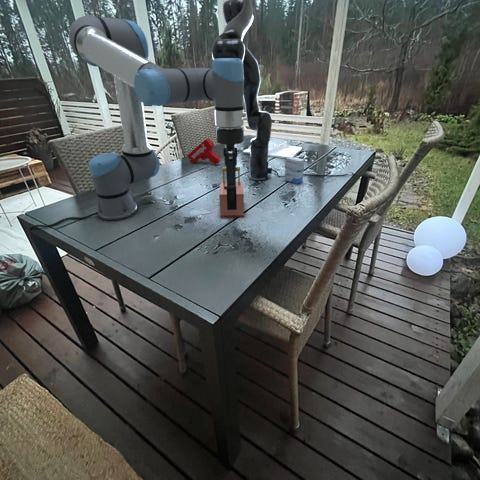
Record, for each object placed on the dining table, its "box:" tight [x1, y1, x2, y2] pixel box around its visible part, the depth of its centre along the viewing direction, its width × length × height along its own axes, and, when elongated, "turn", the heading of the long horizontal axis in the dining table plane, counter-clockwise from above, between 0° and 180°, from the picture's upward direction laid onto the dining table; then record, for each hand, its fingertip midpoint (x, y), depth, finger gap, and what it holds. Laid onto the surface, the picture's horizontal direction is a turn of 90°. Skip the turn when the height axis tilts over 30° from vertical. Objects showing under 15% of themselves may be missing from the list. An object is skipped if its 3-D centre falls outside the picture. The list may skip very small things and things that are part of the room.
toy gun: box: [186, 137, 221, 166], centre depth 168 cm, size 18×4×15 cm
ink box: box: [284, 156, 306, 185], centre depth 140 cm, size 8×5×12 cm, turn 47°
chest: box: [219, 195, 245, 218], centre depth 113 cm, size 13×10×9 cm
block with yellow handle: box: [218, 166, 245, 197], centre depth 108 cm, size 13×10×8 cm
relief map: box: [242, 138, 304, 160], centre depth 192 cm, size 27×35×5 cm
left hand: (231, 199), depth 84 cm, fingers open, 13 cm apart
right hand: (230, 153), depth 106 cm, fingers open, 8 cm apart
